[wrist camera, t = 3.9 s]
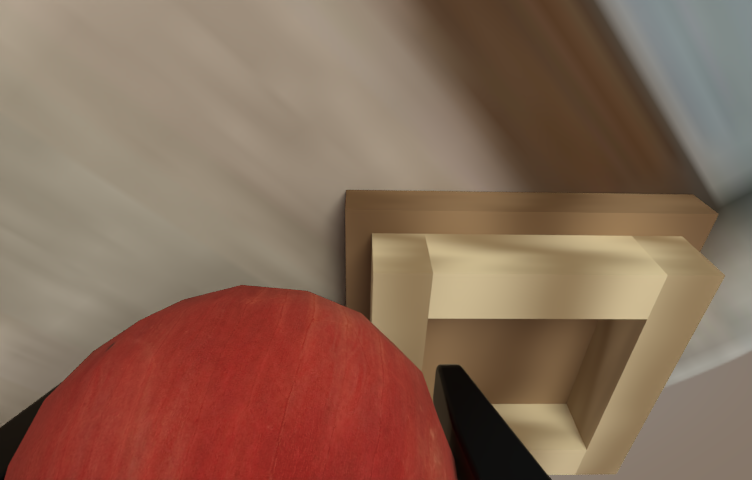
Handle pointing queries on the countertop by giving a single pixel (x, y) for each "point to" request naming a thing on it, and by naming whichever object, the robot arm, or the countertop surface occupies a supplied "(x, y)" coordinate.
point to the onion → (241, 399)
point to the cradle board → (510, 339)
